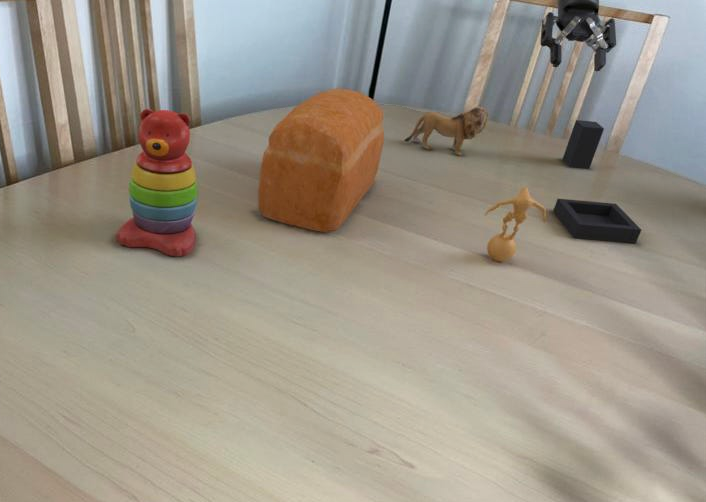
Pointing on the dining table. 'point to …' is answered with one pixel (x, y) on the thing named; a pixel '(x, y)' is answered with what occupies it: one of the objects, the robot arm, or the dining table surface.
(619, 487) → the dining table surface
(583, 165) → the pad block
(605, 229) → the black square tray
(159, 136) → the stacking bear
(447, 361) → the dining table surface
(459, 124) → the lion figurine
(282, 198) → the bread
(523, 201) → the figurine
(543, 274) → the dining table surface
